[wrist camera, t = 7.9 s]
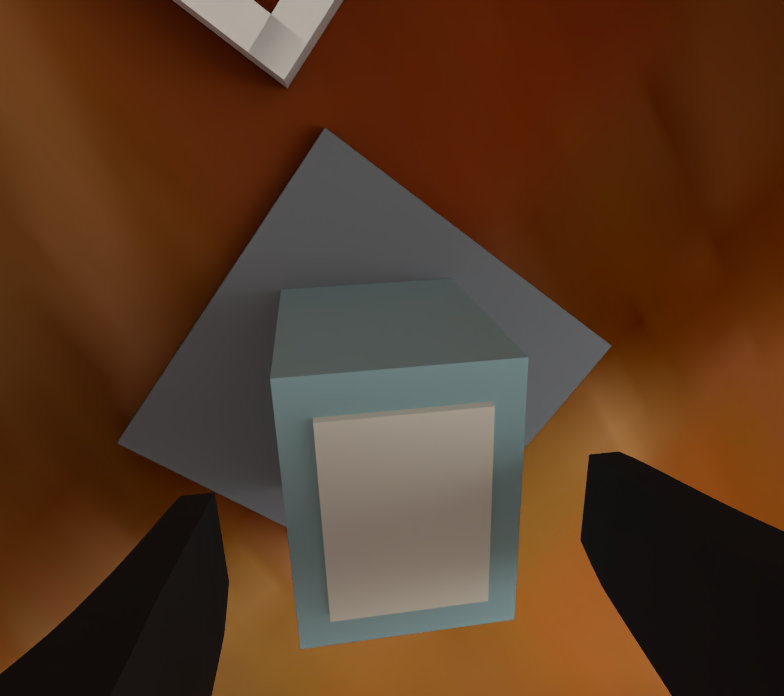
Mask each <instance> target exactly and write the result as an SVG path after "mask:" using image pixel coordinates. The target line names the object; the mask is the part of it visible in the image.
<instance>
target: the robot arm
mask: <svg viewBox="0 0 784 696" xmlns="http://www.w3.org/2000/svg"><path fill="white" fill-rule="evenodd" d="M581 542H582V545H583V547H584V549H585V551H586V553H587V556H588V558H589V560H590V562H591V565H592V567H593V569H594V571H595V573H596V575H597V577H598V579H599V581H600V583H601V585H602V587H603V589H604V590H605V592H606V594H607V595H608V597H609V598H610V600H611V602H612V603H613V605H614V606H615V608H616V609H617V611H618V613H619V614H620V616H621V617H622V619H623V621H624V622H625V624H626V625H627V627H628V628H629V630H630V631H631V633H632V635H633V636H634V638H635V639H636V641H637V642H638V644H639V645H640V647H641V648H642V650H643V652H644V653H645V655H646V656H647V658H648V659H649V661H650V662H651V664H652V666H653V667H654V669H655V670H656V672H657V673H658V675H659V676H660V678H661V679H662V681H663V683H664V684H665V686H666V687H667V689H668V690H669V692H670V694H671V695H672V696H784V531H781V530H779V529H777V528H775V527H773V526H770V525H768V524H766V523H764V522H762V521H759V520H757V519H755V518H753V517H751V516H748V515H746V514H744V513H742V512H740V511H738V510H736V509H734V508H732V507H730V506H728V505H726V504H724V503H722V502H720V501H718V500H716V499H713V498H712V497H710V496H708V495H706V494H704V493H702V492H700V491H698V490H696V489H694V488H692V487H690V486H688V485H686V484H684V483H682V482H680V481H678V480H676V479H674V478H673V477H671V476H669V475H667V474H665V473H663V472H661V471H659V470H657V469H655V468H653V467H651V466H649V465H647V464H645V463H643V462H641V461H639V460H637V459H635V458H632V457H630V456H628V455H626V454H623V453H621V452H611V453H601V454H591V455H589V463H588V472H587V482H586V492H585V501H584V511H583V521H582V530H581ZM228 587H229V579H228V573H227V567H226V561H225V554H224V548H223V542H222V536H221V530H220V523H219V517H218V511H217V505H216V498H215V493H206V494H196V495H186V496H180V497H179V498H178V499H177V500H176V501H175V503H174V504H173V505H172V506H171V507H170V508H169V509H168V510H167V511H166V513H165V514H164V515H163V516H162V517H161V518H160V519H159V521H158V522H157V523H156V524H155V525H154V526H153V528H152V529H151V530H150V531H149V532H148V533H147V534H146V536H145V537H144V538H143V539H142V540H141V541H140V542H139V544H138V545H137V546H136V547H135V548H134V549H133V550H132V551H131V552H130V553H129V555H128V556H127V557H126V558H125V559H124V560H123V561H122V562H121V563H120V564H119V565H118V567H117V568H116V569H115V570H114V571H113V572H112V573H111V574H110V575H109V576H108V577H107V578H106V579H105V580H104V581H103V582H102V583H101V584H100V585H99V586H98V587H97V588H96V589H95V590H94V591H93V592H92V593H91V594H90V595H89V596H88V597H87V598H86V599H85V600H84V601H83V602H82V603H81V604H80V605H79V606H78V607H77V608H76V609H75V610H74V611H73V612H72V613H71V614H70V615H69V616H68V617H67V618H66V619H65V620H64V621H62V622H61V623H60V624H59V625H58V626H57V627H56V628H55V629H54V630H52V631H51V632H50V633H49V634H48V635H47V636H46V637H45V638H43V639H42V640H41V641H40V642H39V643H37V644H36V645H35V646H34V647H33V648H31V649H30V650H29V651H28V652H27V653H26V654H24V655H23V656H22V657H21V658H20V659H18V660H17V661H16V662H15V663H14V664H12V665H11V666H10V667H9V668H7V669H6V670H5V671H4V672H2V673H1V674H0V696H211V695H212V690H213V686H214V681H215V676H216V672H217V667H218V662H219V657H220V653H221V648H222V643H223V638H224V631H225V621H226V611H227V599H228Z"/></svg>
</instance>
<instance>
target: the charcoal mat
mask: <svg viewBox="0 0 784 696" xmlns="http://www.w3.org/2000/svg"><path fill="white" fill-rule="evenodd" d="M450 278H452V279H453V280H454V281H455V282H456V283H457V284H458V285H459V286H460V287H461V288H462V289H463V290H464V291H465V292H466V293H467V294H468V296H469V297H470V298H471V299H472V300H473V301H474V302H475V303H476V304H477V305H478V306H479V307H480V308H481V309H482V310H483V311H484V312H485V313H486V314H487V315H488V316H489V317H490V318H491V319H492V320H493V321H494V322H495V323H496V324H497V325H498V326H499V327H500V328H501V329H502V330H503V331H504V332H505V333H506V334H507V336H508V337H509V338H510V339H511V340H512V341H513V342H514V343H515V344H516V345H517V346H518V347H519V348H520V349H521V350H522V351H523V352H524V353H525V354H526V355H527V356H528V357H529V360H528V378H527V396H526V414H525V432H524V448H525V447H526V446H527V445H528V444H529V443H530V441H531V440H532V439H533V438H534V437H535V436H536V434H537V433H538V432H539V431H540V430H541V428H542V427H543V426H544V425H545V424H546V423H547V421H548V420H549V419H550V418H551V417H552V415H553V414H554V413H555V412H556V411H557V410H558V408H559V407H560V406H561V405H562V404H563V403H564V401H565V400H566V399H567V398H568V397H569V395H570V394H571V393H572V392H573V391H574V390H575V388H576V387H577V386H578V385H579V384H580V382H581V381H582V380H583V379H584V378H585V377H586V375H587V374H588V373H589V372H590V371H591V370H592V368H593V367H594V366H595V365H596V364H597V362H598V361H599V360H600V359H601V358H602V357H603V355H604V354H605V353H606V352H607V351H608V349H609V348H610V347H611V345H610V344H608V343H607V342H606V341H604V340H603V339H602V338H601V337H599V336H598V335H597V334H595V333H594V332H593V331H591V330H590V329H589V328H587V327H586V326H585V325H583V324H582V323H581V322H580V321H578V320H577V319H576V318H574V317H573V316H572V315H570V314H569V313H568V312H566V311H565V310H564V309H562V308H561V307H560V306H559V305H557V304H556V303H555V302H553V301H552V300H551V299H549V298H548V297H547V296H545V295H544V294H543V293H541V292H540V291H539V290H538V289H536V288H535V287H534V286H532V285H531V284H530V283H528V282H527V281H526V280H524V279H523V278H522V277H520V276H519V275H518V274H517V273H515V272H514V271H513V270H511V269H510V268H509V267H507V266H506V265H505V264H503V263H502V262H501V261H499V260H498V259H497V258H496V257H494V256H493V255H492V254H490V253H489V252H488V251H486V250H485V249H484V248H482V247H481V246H480V245H478V244H477V243H476V242H475V241H473V240H472V239H471V238H469V237H468V236H467V235H465V234H464V233H463V232H461V231H460V230H459V229H457V228H456V227H455V226H454V225H452V224H451V223H450V222H448V221H447V220H446V219H444V218H443V217H442V216H440V215H439V214H438V213H436V212H435V211H434V210H433V209H431V208H430V207H429V206H427V205H426V204H425V203H423V202H422V201H421V200H419V199H418V198H417V197H415V196H414V195H413V194H412V193H410V192H409V191H408V190H406V189H405V188H404V187H402V186H401V185H400V184H398V183H397V182H396V181H394V180H393V179H392V178H391V177H389V176H388V175H387V174H385V173H384V172H383V171H381V170H380V169H379V168H377V167H376V166H375V165H373V164H372V163H371V162H370V161H368V160H367V159H366V158H364V157H363V156H362V155H360V154H359V153H358V152H356V151H355V150H354V149H352V148H351V147H350V146H349V145H347V144H346V143H345V142H343V141H342V140H341V139H339V138H338V137H337V136H335V135H334V134H333V133H331V132H330V131H329V130H328V129H326V128H324V129H323V130H322V132H321V133H320V135H319V137H318V138H317V140H316V141H315V143H314V144H313V146H312V147H311V149H310V150H309V152H308V153H307V155H306V156H305V158H304V159H303V161H302V162H301V164H300V165H299V167H298V168H297V170H296V171H295V173H294V174H293V176H292V177H291V179H290V181H289V182H288V184H287V185H286V187H285V188H284V190H283V191H282V193H281V194H280V196H279V197H278V199H277V200H276V202H275V203H274V205H273V206H272V208H271V209H270V211H269V212H268V214H267V215H266V217H265V218H264V220H263V221H262V223H261V225H260V226H259V228H258V229H257V231H256V232H255V234H254V235H253V237H252V238H251V240H250V241H249V243H248V244H247V246H246V247H245V249H244V250H243V252H242V253H241V255H240V256H239V258H238V259H237V261H236V262H235V264H234V265H233V267H232V268H231V270H230V272H229V273H228V275H227V276H226V278H225V279H224V281H223V282H222V284H221V285H220V287H219V288H218V290H217V291H216V293H215V294H214V296H213V297H212V299H211V300H210V302H209V303H208V305H207V306H206V308H205V309H204V311H203V312H202V314H201V316H200V317H199V319H198V320H197V322H196V323H195V325H194V326H193V328H192V329H191V331H190V332H189V334H188V335H187V337H186V338H185V340H184V341H183V343H182V344H181V346H180V347H179V349H178V350H177V352H176V353H175V355H174V356H173V358H172V360H171V361H170V363H169V364H168V366H167V367H166V369H165V370H164V372H163V373H162V375H161V376H160V378H159V379H158V381H157V382H156V384H155V385H154V387H153V388H152V390H151V391H150V393H149V394H148V396H147V397H146V399H145V400H144V402H143V404H142V405H141V407H140V408H139V410H138V411H137V413H136V414H135V416H134V417H133V419H132V420H131V422H130V423H129V425H128V426H127V428H126V429H125V431H124V432H123V434H122V436H121V437H120V439H119V441H118V443H117V444H119V445H121V446H123V447H125V448H127V449H129V450H132V451H134V452H136V453H138V454H140V455H142V456H144V457H146V458H148V459H150V460H152V461H154V462H156V463H158V464H160V465H162V466H164V467H166V468H168V469H170V470H172V471H174V472H176V473H178V474H180V475H182V476H184V477H186V478H188V479H190V480H192V481H194V482H196V483H198V484H200V485H202V486H204V487H206V488H208V489H210V490H212V491H214V492H216V493H218V494H220V495H222V496H224V497H226V498H228V499H230V500H232V501H235V502H237V503H239V504H241V505H243V506H245V507H247V508H249V509H251V510H253V511H255V512H257V513H259V514H261V515H263V516H265V517H267V518H269V519H271V520H273V521H275V522H277V523H279V524H281V525H283V526H285V527H287V525H286V516H285V507H284V498H283V489H282V481H281V472H280V463H279V454H278V445H277V436H276V428H275V419H274V410H273V401H272V392H271V383H270V375H271V367H272V359H273V351H274V343H275V334H276V326H277V318H278V310H279V302H280V294H281V290H282V289H298V288H313V287H328V286H343V285H358V284H374V283H389V282H404V281H419V280H435V279H450Z"/></svg>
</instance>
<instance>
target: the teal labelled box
mask: <svg viewBox="0 0 784 696" xmlns="http://www.w3.org/2000/svg"><path fill="white" fill-rule="evenodd" d="M528 360H529V357H528V356H527V355H526V354H525V353H524V352H523V351H522V350H521V349H520V348H519V347H518V346H517V345H516V344H515V343H514V342H513V341H512V340H511V339H510V338H509V337H508V336H507V334H506V333H505V332H504V331H503V330H502V329H501V328H500V327H499V326H498V325H497V324H496V323H495V322H494V321H493V320H492V319H491V318H490V317H489V316H488V315H487V314H486V313H485V312H484V311H483V310H482V309H481V308H480V307H479V306H478V305H477V304H476V303H475V302H474V301H473V300H472V299H471V298H470V297H469V296H468V294H467V293H466V292H465V291H464V290H463V289H462V288H461V287H460V286H459V285H458V284H457V283H456V282H455V281H454V280H453V279H452V278H450V279H435V280H419V281H404V282H389V283H374V284H358V285H343V286H328V287H313V288H298V289H282V290H281V294H280V302H279V310H278V318H277V326H276V334H275V343H274V351H273V359H272V367H271V375H270V383H271V392H272V401H273V410H274V419H275V428H276V436H277V445H278V454H279V463H280V472H281V481H282V489H283V498H284V507H285V516H286V525H287V534H288V543H289V551H290V560H291V569H292V578H293V587H294V596H295V604H296V613H297V622H298V631H299V640H300V649H305V648H312V647H320V646H327V645H334V644H341V643H349V642H356V641H363V640H370V639H377V638H385V637H392V636H399V635H406V634H414V633H421V632H428V631H435V630H442V629H450V628H457V627H464V626H471V625H479V624H486V623H493V622H500V621H507V620H514V614H515V596H516V577H517V559H518V541H519V523H520V505H521V487H522V469H523V451H524V432H525V414H526V396H527V378H528Z"/></svg>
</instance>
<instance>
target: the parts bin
mask: <svg viewBox="0 0 784 696" xmlns="http://www.w3.org/2000/svg"><path fill="white" fill-rule="evenodd" d="M173 1H174V2H175V3H176V4H178V5H179V6H180V7H182V8H183V9H184V10H186V11H187V12H188V13H189V14H191V15H192V16H193V17H195V18H196V19H197V20H199V21H200V22H201V23H203V24H204V25H205V26H206V27H208V28H209V29H210V30H212V31H213V32H214V33H216V34H217V35H218V36H219V37H221V38H222V39H223V40H225V41H226V42H227V43H229V44H230V45H231V46H232V47H234V48H235V49H236V50H238V51H239V52H240V53H242V54H243V55H244V56H245V57H247V58H248V59H249V60H251V61H252V62H253V63H255V64H256V65H257V66H258V67H260V68H261V69H262V70H264V71H265V72H266V73H268V74H269V75H270V76H271V77H273V78H274V79H275V80H277V81H278V82H279V83H281V84H282V85H283V86H285V87H286V88H287V89H288V87H289V85H290V84H291V82H292V81H293V79H294V78H295V76H296V74H297V73H298V71H299V70H300V68H301V67H302V65H303V63H304V62H305V60H306V59H307V57H308V56H309V54H310V52H311V51H312V49H313V48H314V46H315V45H316V43H317V41H318V40H319V38H320V37H321V35H322V33H323V32H324V30H325V29H326V27H327V26H328V24H329V22H330V21H331V19H332V18H333V16H334V15H335V13H336V11H337V10H338V8H339V7H340V5H341V4H342V2H343V0H279V2H278V4H277V5H276V7H275V9H274V10H273V12H272V13H271V14H270V13H269V12H268V11H266V10H265V9H264V8H263V7H261V6H260V5H259V4H258V3H257V2H255V1H254V0H173Z"/></svg>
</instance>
